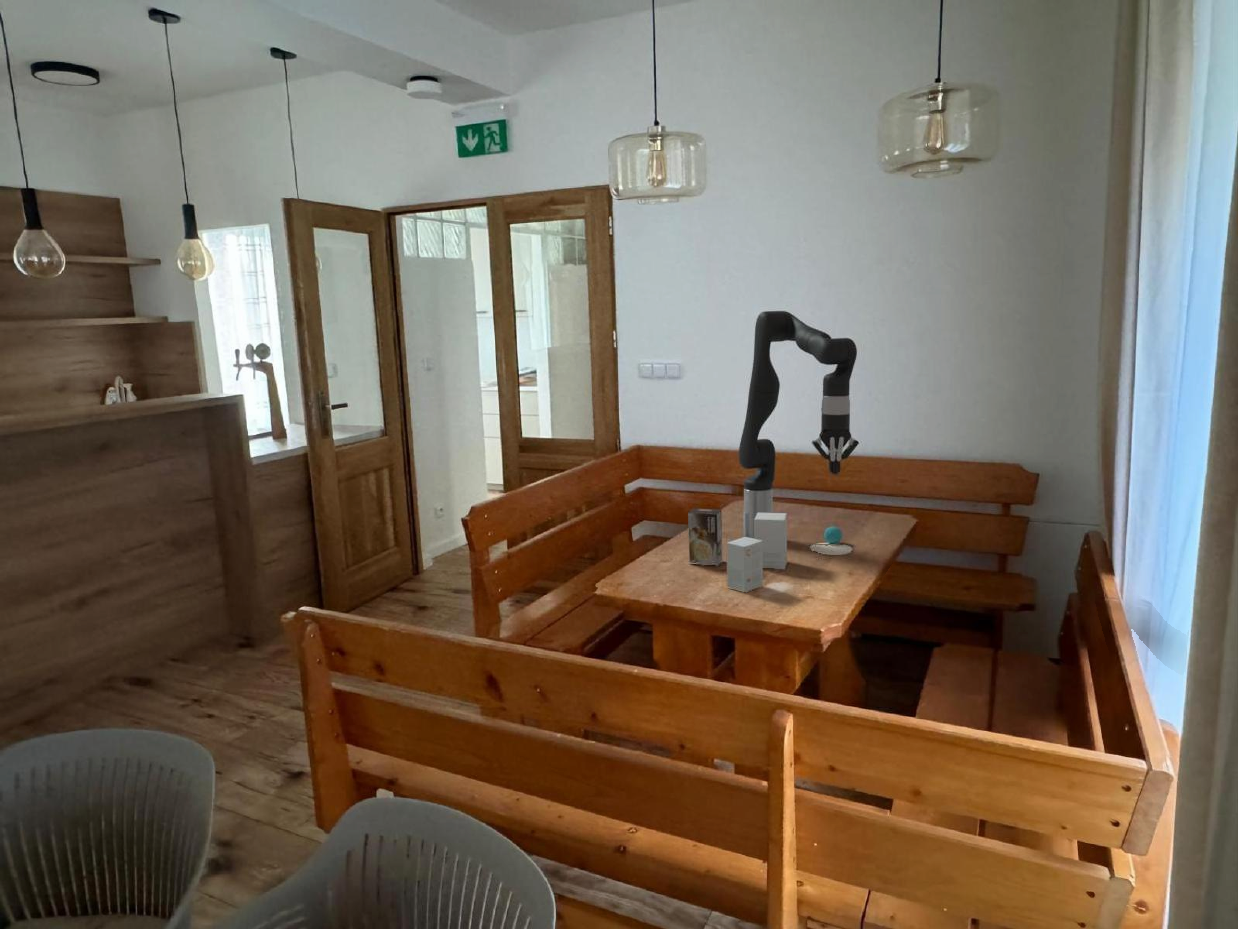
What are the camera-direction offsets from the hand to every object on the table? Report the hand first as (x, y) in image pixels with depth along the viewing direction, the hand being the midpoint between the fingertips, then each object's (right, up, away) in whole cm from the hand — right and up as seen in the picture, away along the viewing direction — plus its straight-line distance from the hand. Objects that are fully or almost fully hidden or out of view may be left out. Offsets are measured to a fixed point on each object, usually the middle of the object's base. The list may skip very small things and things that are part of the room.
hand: (834, 473), depth 226 cm
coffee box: (-34, -27, +19) cm, 47 cm away
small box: (-25, -31, -4) cm, 40 cm away
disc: (+7, -24, +30) cm, 39 cm away
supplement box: (-15, -27, +16) cm, 35 cm away
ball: (+9, -20, +35) cm, 41 cm away
